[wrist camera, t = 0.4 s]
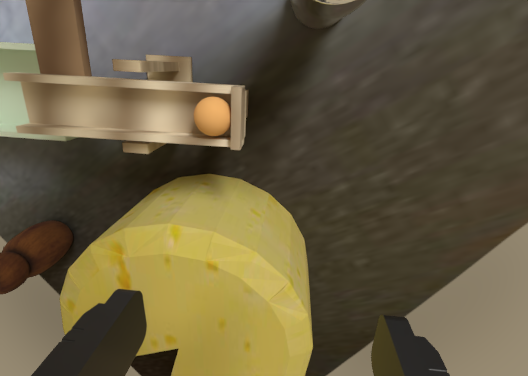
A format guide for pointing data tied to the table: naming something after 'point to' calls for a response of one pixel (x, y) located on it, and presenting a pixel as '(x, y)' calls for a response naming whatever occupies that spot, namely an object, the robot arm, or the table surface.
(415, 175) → the table surface
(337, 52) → the table surface
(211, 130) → the ball
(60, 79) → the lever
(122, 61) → the fulcrum
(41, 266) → the wooden figurine
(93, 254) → the cheese
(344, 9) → the beer glass
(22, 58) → the tray
